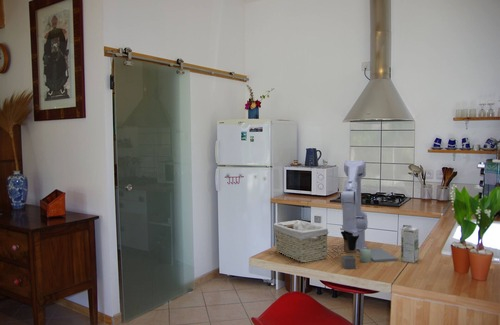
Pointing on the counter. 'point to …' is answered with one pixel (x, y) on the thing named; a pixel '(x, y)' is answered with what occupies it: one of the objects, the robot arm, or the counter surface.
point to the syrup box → (409, 244)
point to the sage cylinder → (365, 255)
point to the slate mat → (381, 255)
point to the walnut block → (346, 248)
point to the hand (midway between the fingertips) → (350, 248)
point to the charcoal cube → (348, 262)
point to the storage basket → (301, 240)
